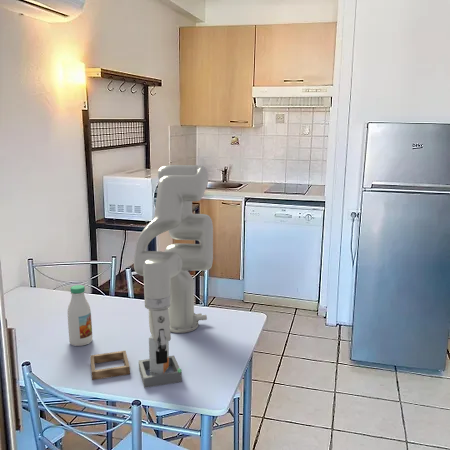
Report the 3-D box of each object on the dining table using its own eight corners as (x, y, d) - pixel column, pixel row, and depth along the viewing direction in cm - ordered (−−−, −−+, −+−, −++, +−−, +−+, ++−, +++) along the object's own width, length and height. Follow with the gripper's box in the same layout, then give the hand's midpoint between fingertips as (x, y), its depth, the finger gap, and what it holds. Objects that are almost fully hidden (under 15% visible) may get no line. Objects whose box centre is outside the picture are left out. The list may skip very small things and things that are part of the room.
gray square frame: (174, 364, 152) (174, 352, 151) (182, 381, 141) (182, 369, 140) (139, 369, 148) (138, 357, 147) (144, 388, 138) (143, 375, 137)
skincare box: (163, 377, 141) (162, 339, 139) (149, 375, 142) (148, 338, 140) (169, 366, 147) (168, 330, 145) (156, 365, 148) (155, 329, 145)
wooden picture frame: (125, 357, 156) (125, 350, 155) (129, 374, 146) (129, 366, 145) (90, 362, 153) (90, 355, 152) (92, 380, 142) (91, 372, 142)
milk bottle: (71, 348, 162) (67, 292, 158) (67, 339, 169) (63, 285, 165) (94, 343, 166) (91, 288, 161) (90, 335, 172) (86, 281, 168)
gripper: (176, 310, 133) (178, 369, 137) (164, 289, 149) (166, 342, 153) (149, 313, 131) (151, 373, 135) (140, 292, 147) (142, 345, 151)
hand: (159, 356), depth 144 cm, fingers closed on skincare box, 7 cm apart
